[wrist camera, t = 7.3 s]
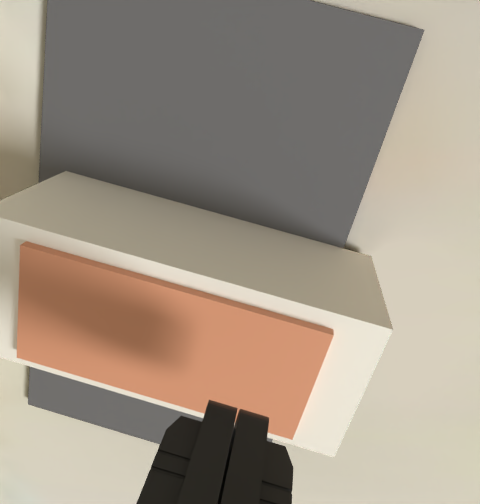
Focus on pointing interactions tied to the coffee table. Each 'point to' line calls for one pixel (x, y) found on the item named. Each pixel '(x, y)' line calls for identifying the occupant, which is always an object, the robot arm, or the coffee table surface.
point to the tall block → (188, 307)
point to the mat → (216, 125)
